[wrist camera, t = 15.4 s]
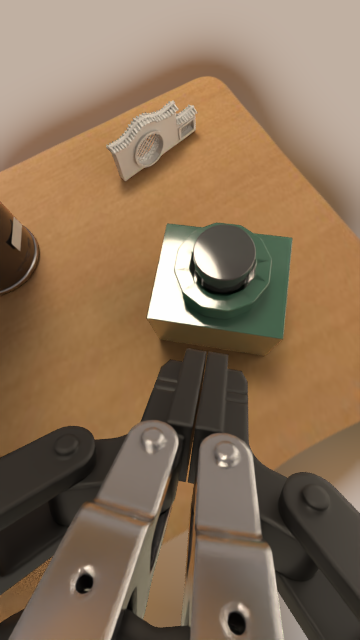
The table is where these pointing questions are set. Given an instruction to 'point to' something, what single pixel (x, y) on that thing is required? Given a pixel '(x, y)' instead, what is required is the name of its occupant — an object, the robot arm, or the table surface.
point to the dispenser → (220, 296)
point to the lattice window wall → (166, 132)
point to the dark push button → (223, 258)
